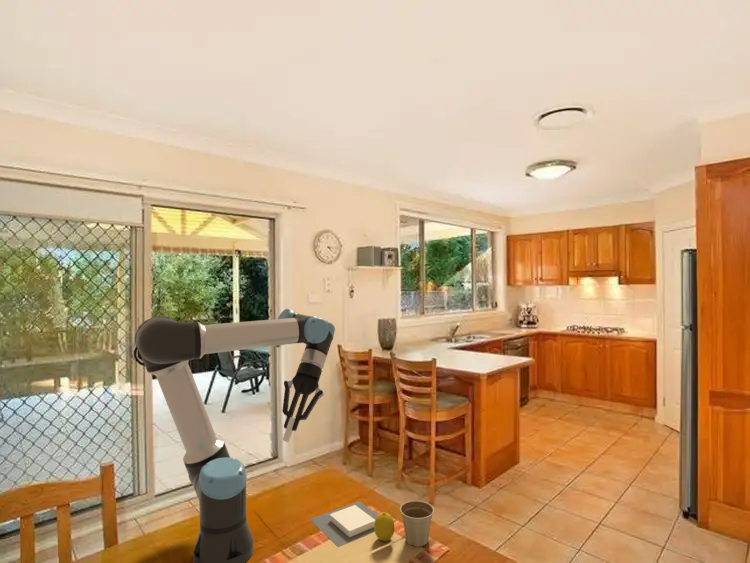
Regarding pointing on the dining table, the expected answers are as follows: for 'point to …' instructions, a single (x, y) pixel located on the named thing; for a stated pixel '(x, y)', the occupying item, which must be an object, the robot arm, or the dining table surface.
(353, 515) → the tile
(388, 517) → the lemon
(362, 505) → the mat
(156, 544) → the dining table surface
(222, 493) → the robot arm
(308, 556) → the dining table surface
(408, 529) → the flower pot
